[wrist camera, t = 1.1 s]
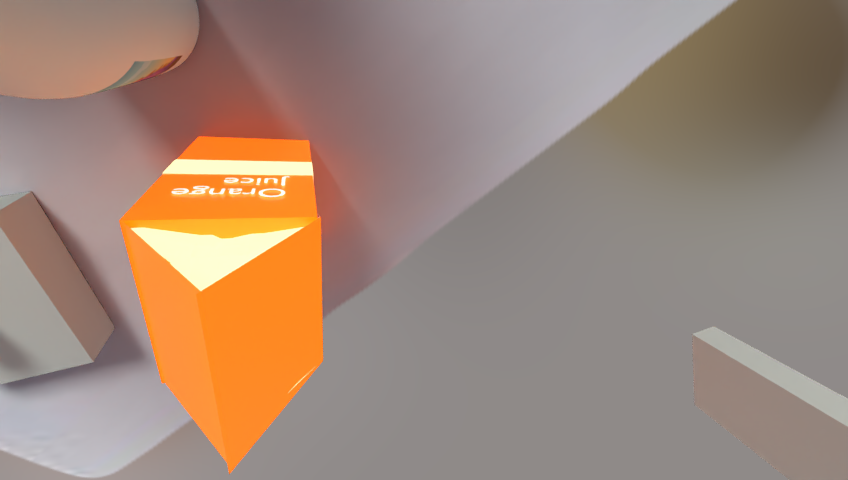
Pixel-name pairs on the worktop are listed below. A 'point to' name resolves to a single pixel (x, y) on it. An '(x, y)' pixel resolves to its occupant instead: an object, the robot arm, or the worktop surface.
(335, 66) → the worktop surface
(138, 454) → the worktop surface
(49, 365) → the toggle switch box
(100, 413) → the worktop surface
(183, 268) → the orange juice
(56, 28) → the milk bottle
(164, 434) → the worktop surface
